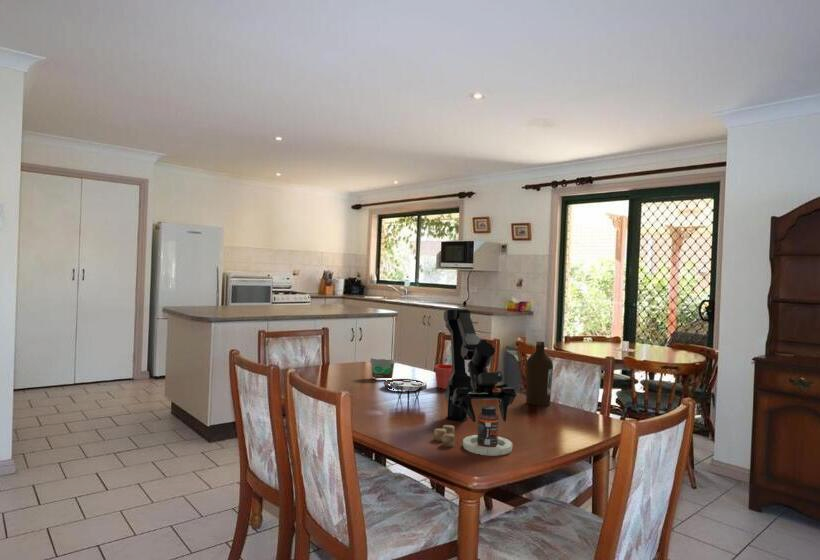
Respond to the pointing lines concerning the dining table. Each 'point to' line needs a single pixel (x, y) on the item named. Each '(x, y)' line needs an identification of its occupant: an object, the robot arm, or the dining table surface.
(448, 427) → the wooden bead
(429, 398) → the dining table surface
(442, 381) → the flower pot
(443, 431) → the wooden bead
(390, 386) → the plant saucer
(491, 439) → the supplement bottle
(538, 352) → the olive oil
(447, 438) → the wooden bead
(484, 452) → the round tray
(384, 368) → the food container
